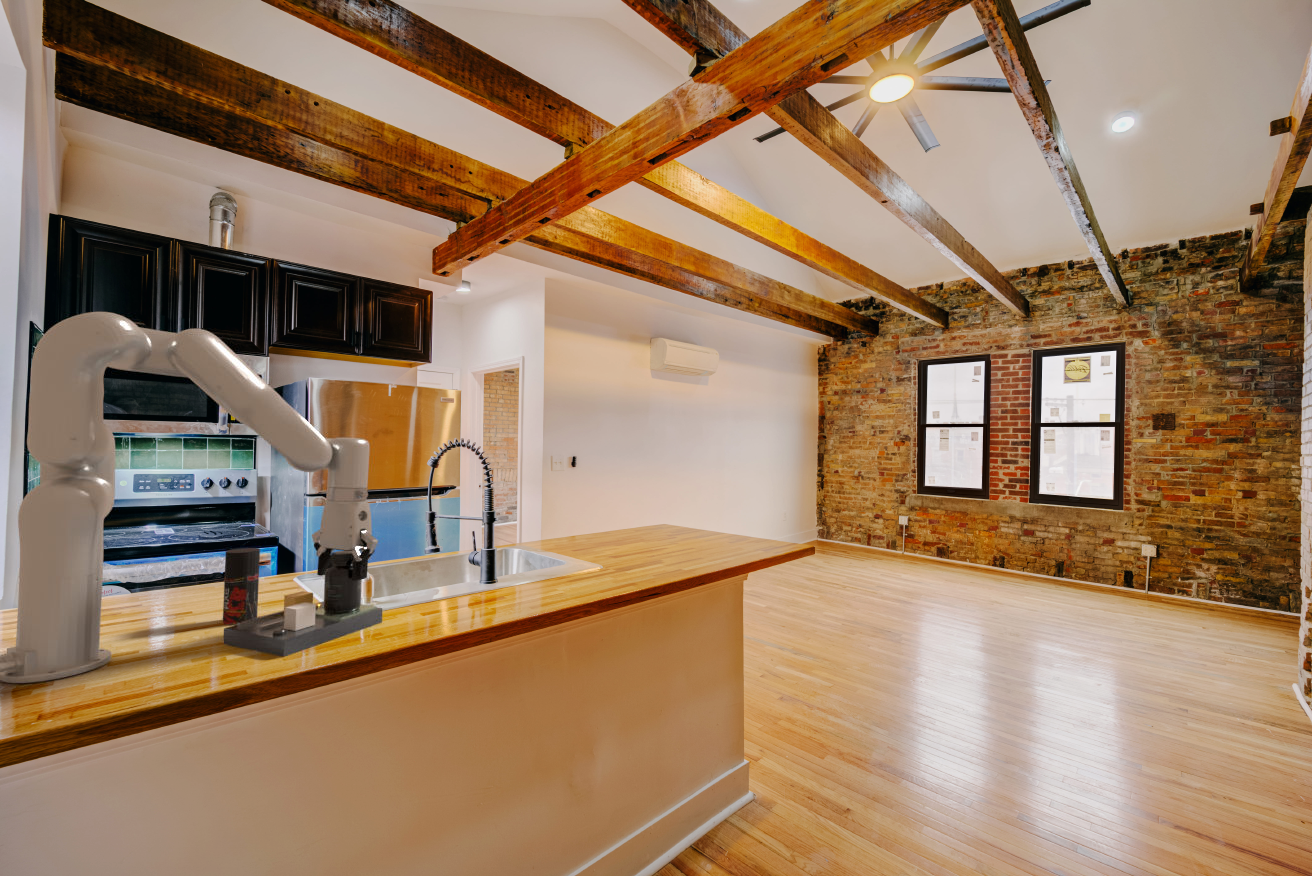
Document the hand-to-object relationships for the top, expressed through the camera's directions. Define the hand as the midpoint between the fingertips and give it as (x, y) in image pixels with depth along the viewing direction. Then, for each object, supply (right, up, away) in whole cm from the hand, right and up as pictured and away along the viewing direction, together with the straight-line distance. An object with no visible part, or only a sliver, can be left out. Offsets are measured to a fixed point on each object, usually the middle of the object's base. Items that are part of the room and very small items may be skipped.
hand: (342, 576), depth 117 cm
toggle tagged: (-8, -7, -3) cm, 11 cm away
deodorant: (-23, -10, +2) cm, 25 cm away
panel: (-4, -10, -5) cm, 12 cm away
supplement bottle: (0, -7, 0) cm, 7 cm away
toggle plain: (-2, -7, -11) cm, 13 cm away
